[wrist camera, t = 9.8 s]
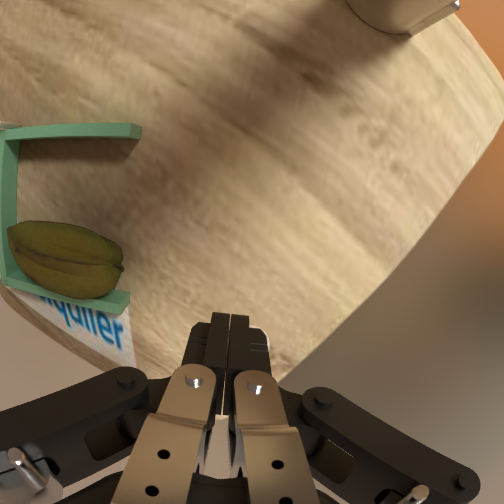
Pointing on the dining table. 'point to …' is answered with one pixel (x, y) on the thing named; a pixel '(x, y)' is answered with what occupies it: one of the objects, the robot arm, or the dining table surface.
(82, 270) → the fruit
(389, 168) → the dining table surface
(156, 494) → the robot arm
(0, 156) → the mint frame with pennant
